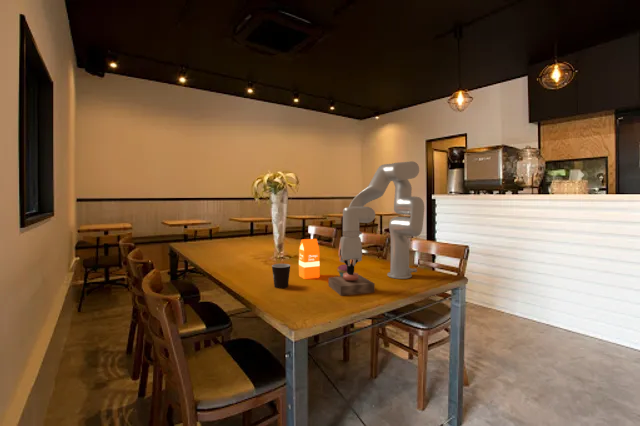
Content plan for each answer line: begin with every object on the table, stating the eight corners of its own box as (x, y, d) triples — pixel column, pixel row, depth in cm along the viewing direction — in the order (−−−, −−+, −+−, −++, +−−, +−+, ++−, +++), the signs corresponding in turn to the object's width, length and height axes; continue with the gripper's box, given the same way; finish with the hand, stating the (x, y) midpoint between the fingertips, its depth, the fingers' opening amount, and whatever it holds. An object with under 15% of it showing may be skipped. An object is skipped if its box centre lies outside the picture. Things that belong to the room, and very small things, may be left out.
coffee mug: (287, 289, 148) (287, 267, 148) (269, 288, 150) (269, 267, 150) (294, 282, 160) (294, 262, 159) (277, 281, 162) (277, 262, 161)
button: (354, 276, 154) (354, 271, 153) (360, 279, 147) (361, 275, 147) (340, 277, 151) (340, 272, 151) (346, 280, 145) (346, 276, 145)
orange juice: (298, 275, 174) (298, 238, 173) (313, 274, 178) (313, 237, 177) (304, 279, 167) (304, 240, 166) (319, 277, 171) (319, 239, 170)
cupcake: (353, 276, 173) (353, 253, 172) (353, 280, 164) (353, 257, 164) (337, 275, 174) (337, 253, 173) (336, 280, 165) (336, 256, 165)
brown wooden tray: (359, 283, 159) (359, 275, 159) (374, 292, 144) (374, 283, 144) (328, 285, 155) (328, 277, 154) (340, 295, 139) (340, 286, 139)
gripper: (362, 233, 154) (361, 271, 155) (332, 233, 149) (332, 273, 150) (369, 234, 147) (368, 275, 148) (338, 235, 142) (338, 277, 143)
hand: (350, 274), depth 149 cm, fingers closed
